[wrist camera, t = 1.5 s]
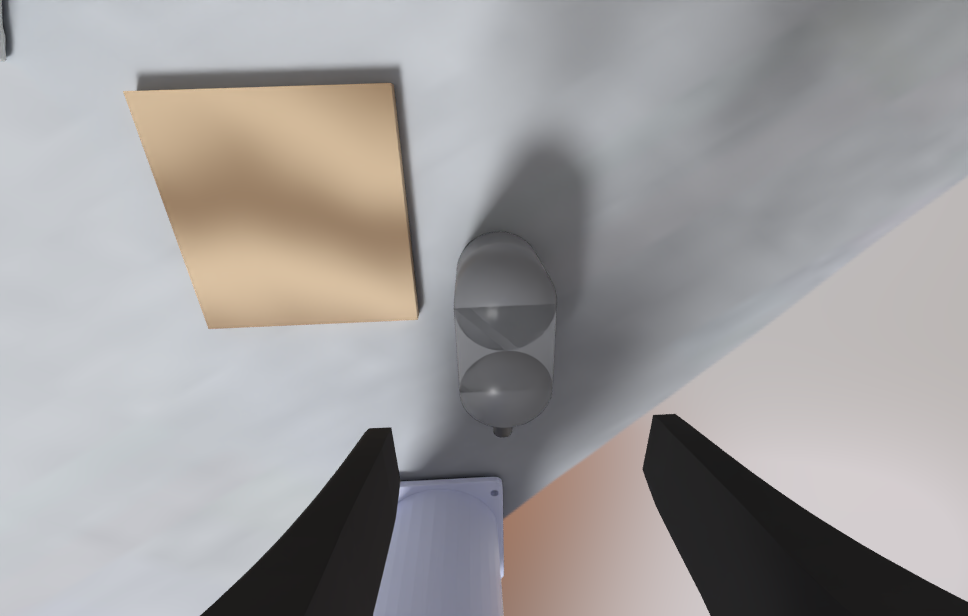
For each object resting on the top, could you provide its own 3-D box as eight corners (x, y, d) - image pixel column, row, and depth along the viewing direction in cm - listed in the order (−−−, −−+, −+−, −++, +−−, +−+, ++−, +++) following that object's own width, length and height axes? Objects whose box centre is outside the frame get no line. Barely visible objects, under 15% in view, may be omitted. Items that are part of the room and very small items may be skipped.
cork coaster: (418, 314, 19) (417, 319, 19) (216, 323, 19) (208, 329, 19) (393, 84, 15) (390, 82, 15) (135, 93, 15) (123, 91, 15)
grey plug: (535, 410, 22) (548, 465, 18) (465, 414, 22) (465, 469, 18) (540, 229, 18) (559, 253, 14) (454, 233, 18) (450, 258, 14)
